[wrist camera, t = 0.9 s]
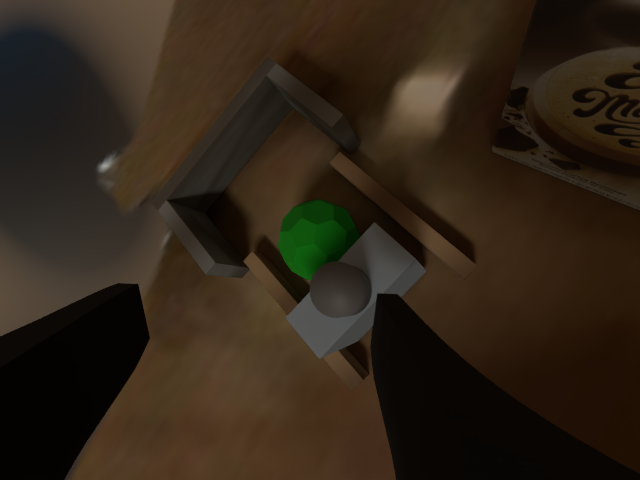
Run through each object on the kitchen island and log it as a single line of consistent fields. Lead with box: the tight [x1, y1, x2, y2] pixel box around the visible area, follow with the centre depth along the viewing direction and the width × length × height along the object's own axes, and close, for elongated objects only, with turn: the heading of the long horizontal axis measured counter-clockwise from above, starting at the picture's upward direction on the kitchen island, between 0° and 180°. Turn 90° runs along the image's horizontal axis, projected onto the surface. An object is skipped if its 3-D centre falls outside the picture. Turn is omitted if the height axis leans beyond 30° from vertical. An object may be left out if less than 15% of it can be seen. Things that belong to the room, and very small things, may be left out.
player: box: [286, 222, 426, 359], centre depth 17 cm, size 2×6×8 cm, turn 134°
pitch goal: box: [152, 57, 477, 391], centre depth 21 cm, size 18×13×4 cm
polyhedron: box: [278, 199, 360, 280], centre depth 20 cm, size 5×5×5 cm
